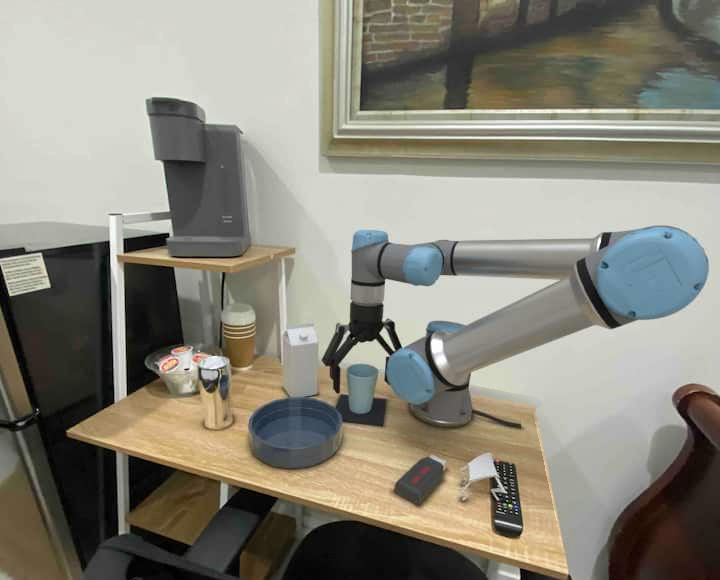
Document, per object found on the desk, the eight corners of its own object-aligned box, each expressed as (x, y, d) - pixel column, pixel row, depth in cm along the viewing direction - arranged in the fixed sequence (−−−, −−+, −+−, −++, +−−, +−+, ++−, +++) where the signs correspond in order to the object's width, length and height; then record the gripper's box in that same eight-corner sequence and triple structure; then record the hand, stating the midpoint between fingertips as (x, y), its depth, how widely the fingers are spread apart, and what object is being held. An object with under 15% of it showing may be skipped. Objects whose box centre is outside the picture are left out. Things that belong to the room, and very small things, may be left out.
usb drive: (393, 492, 71) (395, 480, 70) (426, 460, 80) (427, 449, 79) (418, 506, 68) (420, 494, 67) (449, 472, 77) (451, 460, 76)
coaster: (385, 400, 102) (385, 399, 102) (382, 426, 91) (382, 424, 90) (340, 395, 103) (340, 394, 103) (331, 420, 92) (331, 418, 92)
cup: (381, 413, 95) (384, 374, 91) (352, 419, 92) (354, 379, 88) (367, 398, 101) (370, 362, 98) (340, 403, 98) (341, 366, 95)
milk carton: (283, 387, 105) (282, 321, 99) (307, 383, 109) (308, 318, 102) (291, 399, 100) (291, 330, 93) (317, 394, 103) (318, 326, 96)
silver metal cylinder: (203, 433, 85) (196, 370, 79) (202, 416, 91) (195, 357, 85) (236, 427, 87) (232, 366, 82) (233, 411, 93) (229, 354, 88)
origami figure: (503, 515, 67) (508, 493, 65) (454, 500, 70) (458, 478, 68) (505, 472, 78) (510, 452, 76) (463, 461, 80) (466, 441, 79)
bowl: (347, 420, 92) (348, 402, 90) (331, 476, 74) (332, 454, 72) (268, 411, 94) (267, 392, 92) (234, 463, 76) (232, 441, 74)
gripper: (407, 294, 95) (401, 373, 102) (308, 301, 86) (308, 387, 93) (423, 302, 88) (415, 386, 96) (318, 310, 79) (317, 402, 86)
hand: (362, 386), depth 94 cm, fingers open, 13 cm apart
